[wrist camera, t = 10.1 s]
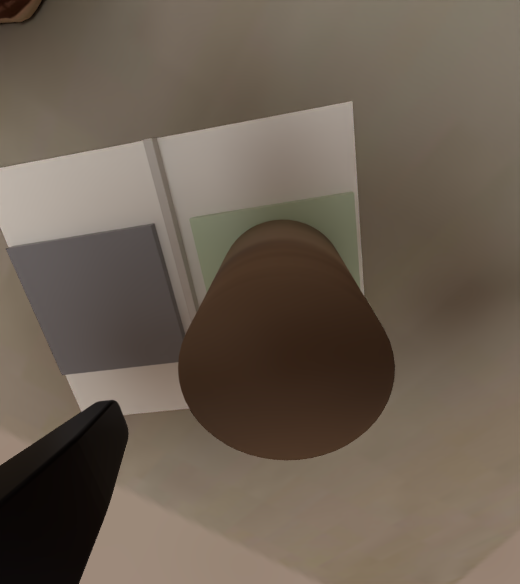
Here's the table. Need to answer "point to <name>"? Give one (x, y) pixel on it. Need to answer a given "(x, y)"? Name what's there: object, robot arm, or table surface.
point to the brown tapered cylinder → (285, 348)
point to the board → (165, 238)
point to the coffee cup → (17, 10)
